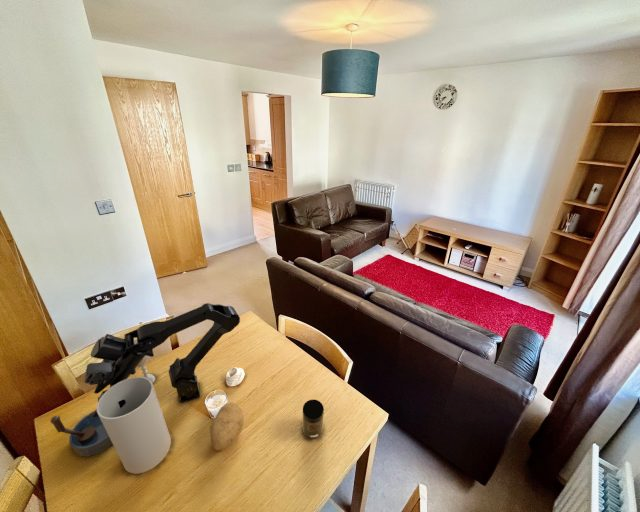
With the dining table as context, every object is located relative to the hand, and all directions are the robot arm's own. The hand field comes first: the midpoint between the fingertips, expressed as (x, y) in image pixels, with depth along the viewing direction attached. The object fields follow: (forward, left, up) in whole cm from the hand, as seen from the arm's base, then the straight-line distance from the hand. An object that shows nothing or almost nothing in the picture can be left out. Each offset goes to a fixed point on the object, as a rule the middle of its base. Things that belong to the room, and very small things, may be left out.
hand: (95, 404), depth 83 cm
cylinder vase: (-13, +12, -13) cm, 22 cm away
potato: (-36, +16, -13) cm, 41 cm away
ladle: (+7, +1, -12) cm, 13 cm away
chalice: (-10, -17, -13) cm, 23 cm away
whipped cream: (-41, -5, -13) cm, 43 cm away
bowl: (+2, 0, -13) cm, 13 cm away
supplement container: (-62, +25, -13) cm, 68 cm away
